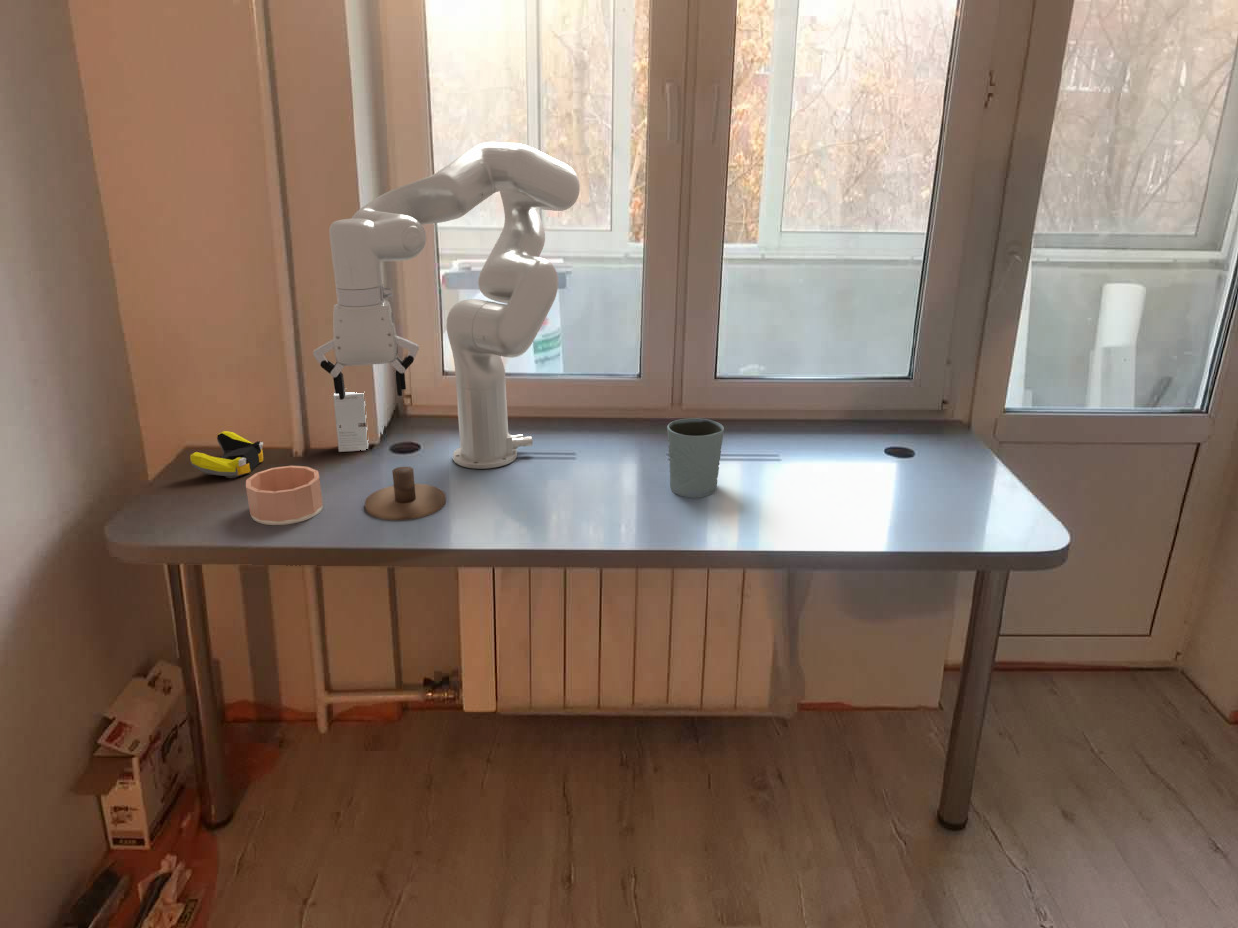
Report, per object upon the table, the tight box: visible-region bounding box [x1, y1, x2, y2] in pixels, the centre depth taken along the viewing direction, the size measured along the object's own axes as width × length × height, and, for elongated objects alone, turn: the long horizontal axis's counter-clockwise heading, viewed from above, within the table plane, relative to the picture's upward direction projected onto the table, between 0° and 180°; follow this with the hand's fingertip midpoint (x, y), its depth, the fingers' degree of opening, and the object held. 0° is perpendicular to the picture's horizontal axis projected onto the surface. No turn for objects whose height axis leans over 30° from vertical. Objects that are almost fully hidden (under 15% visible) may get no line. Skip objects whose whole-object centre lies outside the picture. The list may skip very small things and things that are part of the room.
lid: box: [364, 466, 447, 521], centre depth 171 cm, size 14×14×7 cm
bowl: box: [245, 465, 324, 526], centre depth 168 cm, size 12×12×6 cm
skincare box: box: [332, 392, 369, 453], centre depth 196 cm, size 6×4×12 cm
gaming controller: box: [189, 430, 264, 479], centre depth 187 cm, size 15×6×10 cm
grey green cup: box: [666, 417, 725, 498], centre depth 176 cm, size 10×10×12 cm
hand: (371, 395), depth 166 cm, fingers open, 9 cm apart
